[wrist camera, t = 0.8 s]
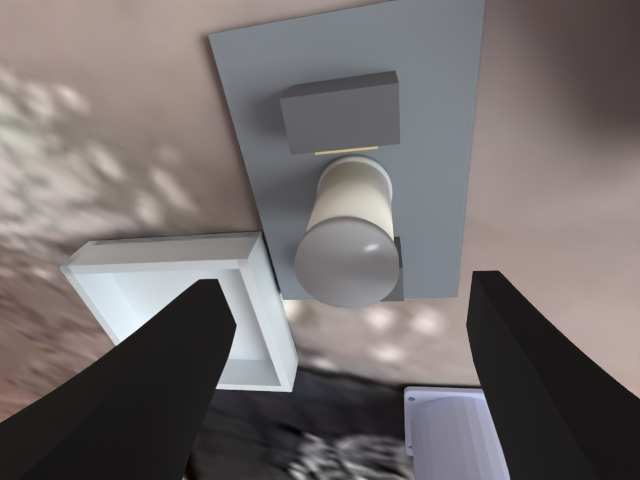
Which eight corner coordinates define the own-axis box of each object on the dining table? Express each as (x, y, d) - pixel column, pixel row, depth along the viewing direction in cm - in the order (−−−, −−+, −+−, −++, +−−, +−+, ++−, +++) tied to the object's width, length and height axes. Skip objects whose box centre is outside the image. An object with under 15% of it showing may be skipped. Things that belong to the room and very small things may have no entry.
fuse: (393, 218, 17) (400, 307, 12) (324, 222, 17) (303, 308, 12) (390, 150, 15) (398, 223, 10) (313, 157, 15) (284, 229, 11)
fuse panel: (455, 289, 19) (467, 332, 17) (285, 293, 21) (273, 331, 19) (482, -16, 12) (511, -21, 9) (213, 33, 14) (176, 39, 11)
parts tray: (298, 360, 25) (291, 391, 23) (162, 357, 27) (144, 385, 25) (261, 231, 19) (247, 258, 17) (89, 240, 21) (58, 266, 19)
